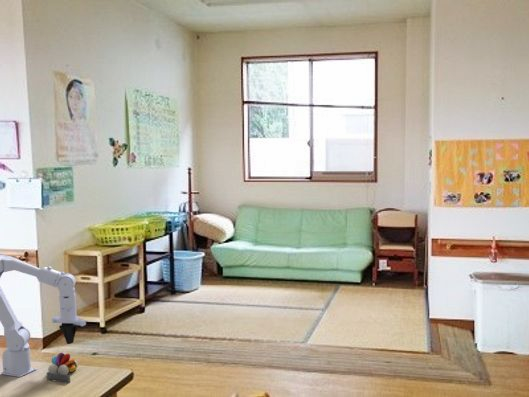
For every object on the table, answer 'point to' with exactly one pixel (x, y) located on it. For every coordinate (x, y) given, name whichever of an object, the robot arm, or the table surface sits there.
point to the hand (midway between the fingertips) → (70, 343)
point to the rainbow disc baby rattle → (62, 364)
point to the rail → (58, 377)
